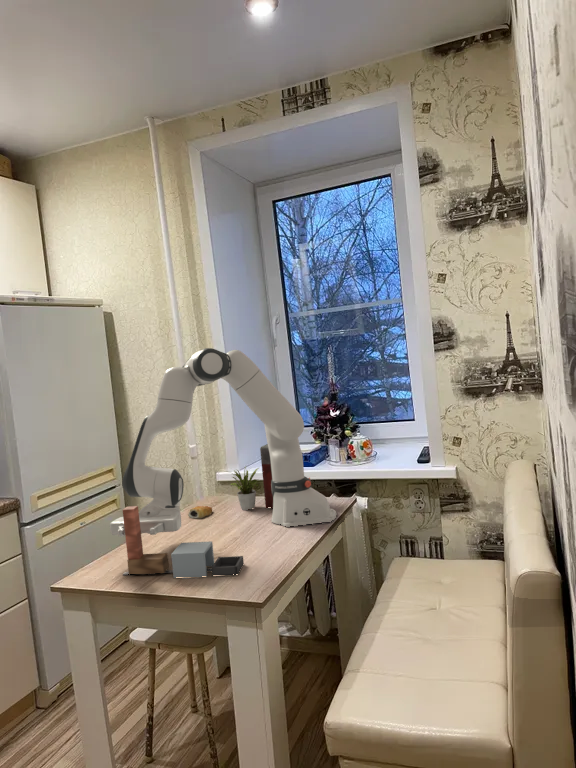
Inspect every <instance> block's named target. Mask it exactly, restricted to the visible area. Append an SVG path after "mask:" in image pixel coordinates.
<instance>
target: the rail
mask: <svg viewBox="0 0 576 768" xmlns="http://www.w3.org/2000/svg"><path fill="white" fill-rule="evenodd" d="M206 569H207V571H212V570H211V568H206ZM164 573H173V569H170V570H168V569H167V570H166V571H165V572H164ZM128 574H129V571H124V572H123V573H122V576H129V575H128Z"/></svg>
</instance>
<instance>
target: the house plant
mask: <svg viewBox="0 0 576 768" xmlns="http://www.w3.org/2000/svg"><path fill="white" fill-rule="evenodd" d="M250 469H252V468H249V469H247V466H245V467H244V472H243V478H242V475H241V473H240V471H239V470H238V469H236V468H235V469H234V470H233V472H234V474H233V473H232V472H231V471H227V470H226V471H224V473H225V472H227V473H231V474H230V475H233V476H232V478H233V479H234V480H235V481H236V482H237V483H236V482H232V483H230V485H233V486H232V487H237V490H238V492H237V493H236V495H237V498H238V501H239V506H240V509H242V511H249V510H248V509H252V508H254V507H255V508H256V497H257V496H256V495H257V491H256V490H255V489H254V487H255V486H256V487H259V484H258V483H257V482H258V480H260V478H258V479H256V478H255V479H253V478H254V476H255V474H256V473H257V472H258V470H259V469H260V467H257V468H256V469H255V470H253V472H252V473H251V475H250V477H249V471H250ZM239 490H240V491H239ZM255 508H254V509H255ZM252 510H253V509H252Z"/></svg>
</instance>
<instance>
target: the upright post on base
mask: <svg viewBox="0 0 576 768" xmlns="http://www.w3.org/2000/svg"><path fill="white" fill-rule="evenodd" d="M139 511H140V510H139V506H138V505H131V506H126V507H124V508H123V509H122V517H123V519H124V528H125V535H124V537H125V544H126V554H127V569H128V571H127V572H129V575H128V576H131V575H130V574H148V575H156V574H155V573H164V572H165V571H166V570H168V569H169V568H170V563H169V553H168V552H162V553H144V550H143V549H144V548H143V540H142V533H141V529H140V520H139Z"/></svg>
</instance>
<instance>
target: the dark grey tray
mask: <svg viewBox="0 0 576 768" xmlns="http://www.w3.org/2000/svg"><path fill="white" fill-rule="evenodd" d="M243 564H244V565H245V563H244V555H237V556H232V555H231V556H218V557H217V559H216V560H215V561H214V565H213V566H211V568H210V569H211V570H212V572H211V577H212V576H213V575H233V574H234V575H236V574H238V573H239V574H240V572H241V571H240V569H241V567H242V566H243V567H244V565H243ZM243 567H242V568H243ZM241 570H242V569H241ZM239 571H240V572H239ZM239 574H238V575H239Z"/></svg>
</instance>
